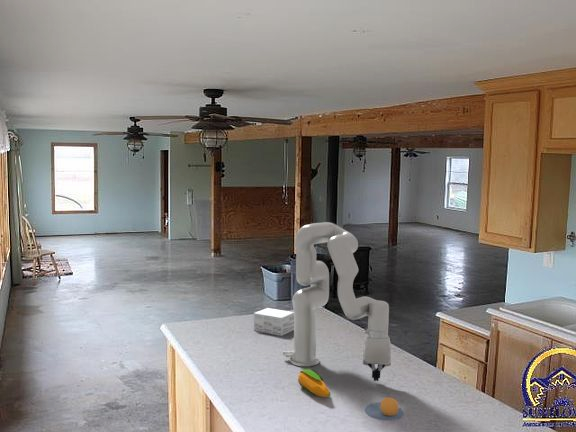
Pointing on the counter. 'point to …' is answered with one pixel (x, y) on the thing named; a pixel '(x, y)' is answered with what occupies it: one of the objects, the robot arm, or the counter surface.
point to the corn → (313, 383)
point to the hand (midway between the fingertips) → (375, 379)
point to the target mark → (376, 412)
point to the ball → (389, 406)
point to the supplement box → (274, 321)
